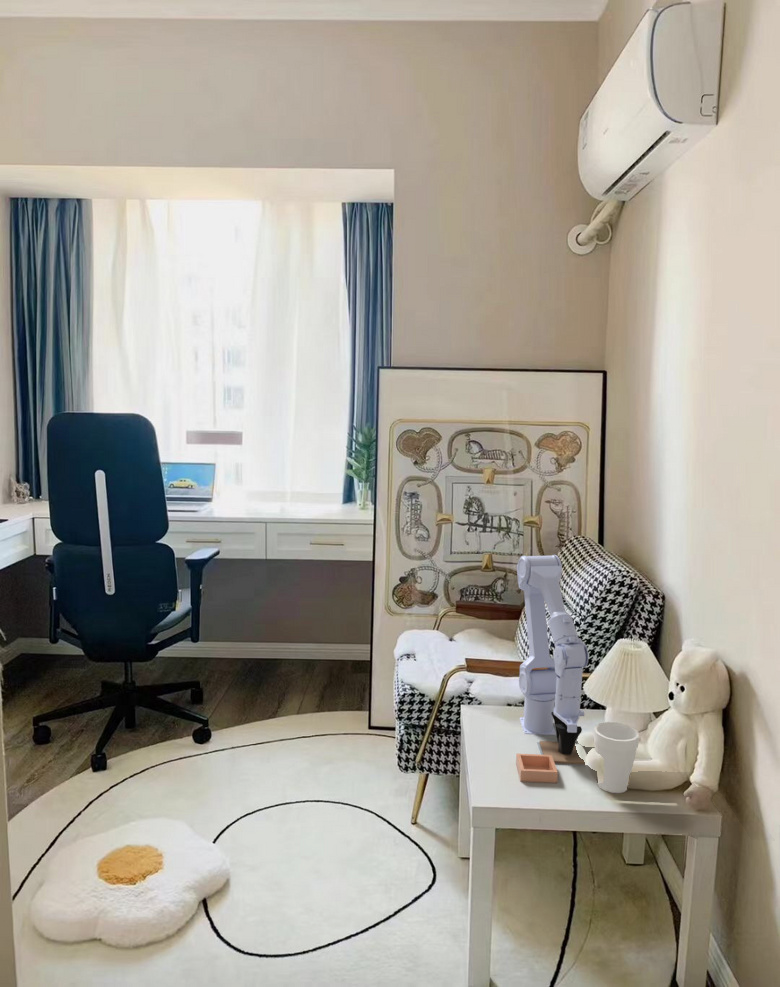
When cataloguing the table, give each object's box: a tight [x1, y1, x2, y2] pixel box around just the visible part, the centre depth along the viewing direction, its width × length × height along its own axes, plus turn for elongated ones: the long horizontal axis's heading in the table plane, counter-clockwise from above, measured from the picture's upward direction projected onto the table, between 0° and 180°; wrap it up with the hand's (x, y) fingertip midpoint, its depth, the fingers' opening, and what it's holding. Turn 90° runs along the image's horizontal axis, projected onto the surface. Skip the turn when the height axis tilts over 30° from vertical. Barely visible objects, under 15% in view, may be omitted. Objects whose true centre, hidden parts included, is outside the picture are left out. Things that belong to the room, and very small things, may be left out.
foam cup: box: [593, 721, 640, 794], centre depth 178 cm, size 10×9×13 cm
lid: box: [538, 735, 585, 765], centre depth 193 cm, size 10×10×5 cm
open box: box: [515, 753, 559, 784], centre depth 183 cm, size 8×8×3 cm
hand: (564, 748), depth 193 cm, fingers open, 5 cm apart
